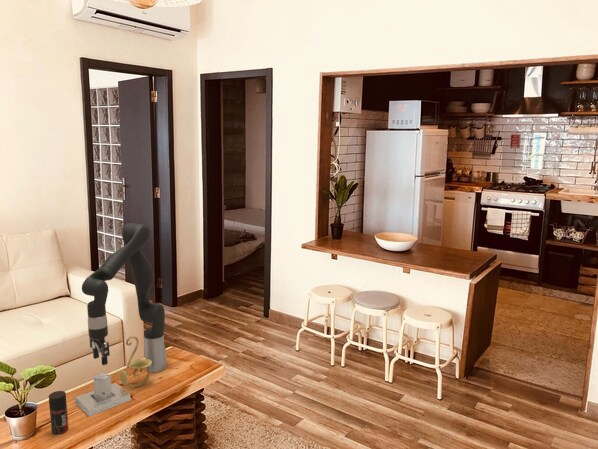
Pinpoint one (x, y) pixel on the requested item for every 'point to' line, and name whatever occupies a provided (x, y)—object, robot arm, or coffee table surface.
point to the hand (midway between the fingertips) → (100, 361)
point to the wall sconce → (135, 366)
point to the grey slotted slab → (93, 407)
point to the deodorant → (58, 412)
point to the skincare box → (102, 387)
